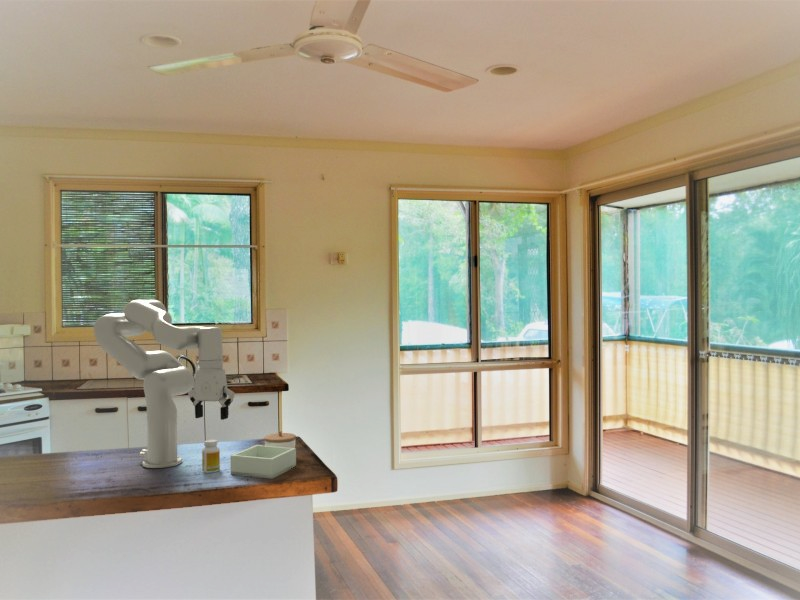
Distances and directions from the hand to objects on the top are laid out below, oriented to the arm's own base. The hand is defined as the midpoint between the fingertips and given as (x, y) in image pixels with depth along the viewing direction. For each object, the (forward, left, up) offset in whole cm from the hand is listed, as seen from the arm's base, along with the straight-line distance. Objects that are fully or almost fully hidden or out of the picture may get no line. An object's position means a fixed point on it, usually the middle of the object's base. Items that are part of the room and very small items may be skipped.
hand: (211, 418), depth 202 cm
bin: (+16, +6, -17) cm, 24 cm away
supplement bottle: (0, 0, -17) cm, 17 cm away
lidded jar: (+13, +21, -17) cm, 30 cm away
